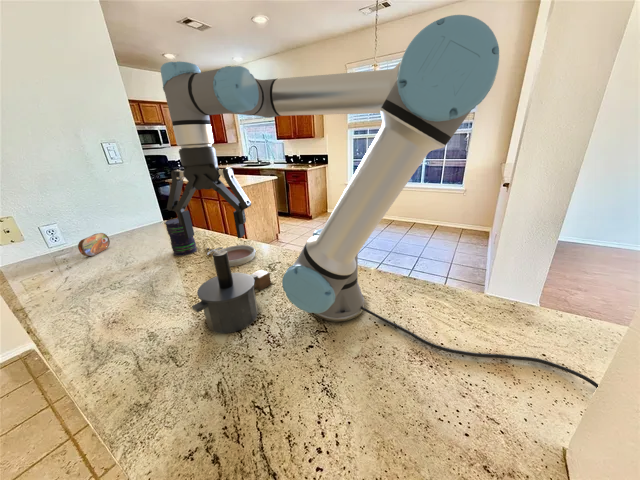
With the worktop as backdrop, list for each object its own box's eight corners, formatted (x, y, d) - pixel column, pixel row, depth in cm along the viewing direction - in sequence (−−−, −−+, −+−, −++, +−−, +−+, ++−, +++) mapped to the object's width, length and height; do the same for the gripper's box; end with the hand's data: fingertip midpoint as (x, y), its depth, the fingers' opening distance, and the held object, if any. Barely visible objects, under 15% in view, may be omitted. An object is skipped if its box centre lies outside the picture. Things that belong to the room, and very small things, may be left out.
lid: (266, 284, 72) (261, 248, 68) (219, 312, 61) (210, 271, 57) (233, 271, 80) (227, 239, 76) (187, 294, 69) (177, 257, 66)
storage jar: (182, 247, 127) (174, 217, 121) (201, 247, 125) (194, 217, 120) (168, 255, 117) (159, 224, 112) (188, 256, 116) (180, 223, 111)
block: (271, 284, 90) (269, 272, 88) (261, 290, 86) (259, 278, 85) (262, 280, 92) (260, 269, 91) (252, 286, 89) (250, 274, 87)
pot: (274, 307, 77) (270, 278, 74) (217, 347, 63) (209, 314, 60) (244, 293, 85) (239, 267, 81) (188, 326, 71) (179, 296, 67)
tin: (87, 258, 119) (80, 241, 116) (80, 259, 119) (73, 241, 116) (112, 246, 133) (106, 230, 130) (106, 246, 134) (100, 230, 130)
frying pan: (220, 239, 127) (263, 247, 113) (222, 245, 128) (264, 253, 114) (188, 252, 114) (232, 263, 99) (190, 258, 115) (234, 270, 100)
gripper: (256, 143, 60) (268, 230, 68) (156, 148, 63) (178, 232, 71) (244, 144, 53) (258, 241, 61) (132, 150, 56) (159, 242, 64)
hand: (215, 236), depth 66 cm, fingers open, 13 cm apart
